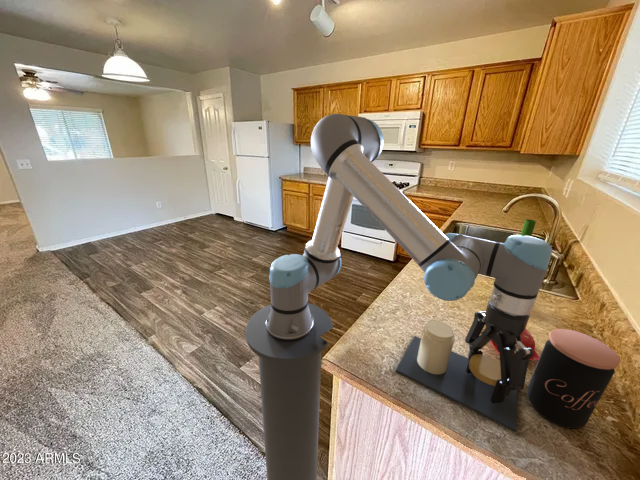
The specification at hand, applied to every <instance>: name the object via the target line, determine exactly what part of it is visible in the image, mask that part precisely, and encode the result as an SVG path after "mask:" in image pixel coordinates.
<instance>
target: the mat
mask: <svg viewBox="0 0 640 480" xmlns="http://www.w3.org/2000/svg"><path fill="white" fill-rule="evenodd" d="M420 341H421V337H418V336H415V335H414V336H413V338H412V340H411V342H410V344H408V347H407V349H406V350H405V352H404V354H403V356H402V358H401V360H400V362H399V364H398V365H397V367H396V369H395V372H396V373H398V374H400V375H401V376H404V377H406V378H408V379H410V380H412V381H414V382H416V383H418V384H420V385H422V386H424V387H426V388H427V389H429V390H432V391H433V392H436V393H437V394H439V395H441V396H442V397H445V398H447V399H449V400H451V401H453V402H455V403H457V404H459V405H461V406H463V407H465V408H467V409H469V410H471V411H472V412H474V413H476V414H479V415H481V416H483V417H484V418H487V419H488V420H491V421H493V422H494V423H496V424H498V425H501V426H503V427H505V428H506V429H508V430H510V431H512V432H514V433H517V431H518V390H511V392H510V395H508V396H505V398H504V401H503V402H501V403H494V404H493V403H492V402H491V401H490V400H491V397H492V394H493V391H494V388H495V386H493V385H490V384H487V383H485V382H483V381H481V380H479V379H478V378H477V377H476V376H474V374H473V373H469V374H467V372H466V368H467V365H468V361H469V359H468V357H466V356H463V355H461V354H458V353H456V352H454V351H453V350H452V351H451V355H450V359H449V363H448V367H447V370H446V372H445V373H443V374H432V373H429V372H427V371H425V370H424V369H422V368H421V367H420V365H419V364H418V362H417V355H418V350H419V346H420Z"/></svg>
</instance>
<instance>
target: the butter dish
mask: <svg viewBox="0 0 640 480" xmlns="http://www.w3.org/2000/svg"><path fill="white" fill-rule="evenodd" d="M489 342H490V343H491V345H492V347H493V348H494V351H496V353H497V354H498V355H499V356H500V353H499V352H498V350H497V345H496V343H495V342H494V341H493V340H490V341H489ZM521 343H522V344H523V345H524V346H525V347H526V348H531V349H532V350H533V354H532V356H531V357H530V358H529V361H536V362H538V360H539V358H540V355H539V353H538V352H537V351H536V341H535V339H534V337H533V336H532V334H531V332H529V330H528V329H527V327H526V328H525V330H524V331H523V332H522V333H521ZM505 348H508V347H505ZM515 348H516V346H515ZM514 355H515V353H514Z"/></svg>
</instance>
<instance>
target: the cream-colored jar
mask: <svg viewBox="0 0 640 480" xmlns="http://www.w3.org/2000/svg"><path fill="white" fill-rule="evenodd" d="M420 338H421V341H420V346H419V350H418V355H417V362H418V364H419V365H420V367H421V368H422V369H424V370H425V371H427V372H429V373H432V374H443V373H445V372H446V370H447V367H448V363H449V359H450V355H451V351H452V352H453V347H454V344H455V338H456V337H455V333H454V329H453V327H452V326H451V325H449V324H447V323H446V322H445V321H444V322H443V321H441V320H435V319H434V320H433V319H432V320H428V321H427V322H426V323H425V324H424V325H423V327H422V332H421V336H420Z"/></svg>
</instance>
